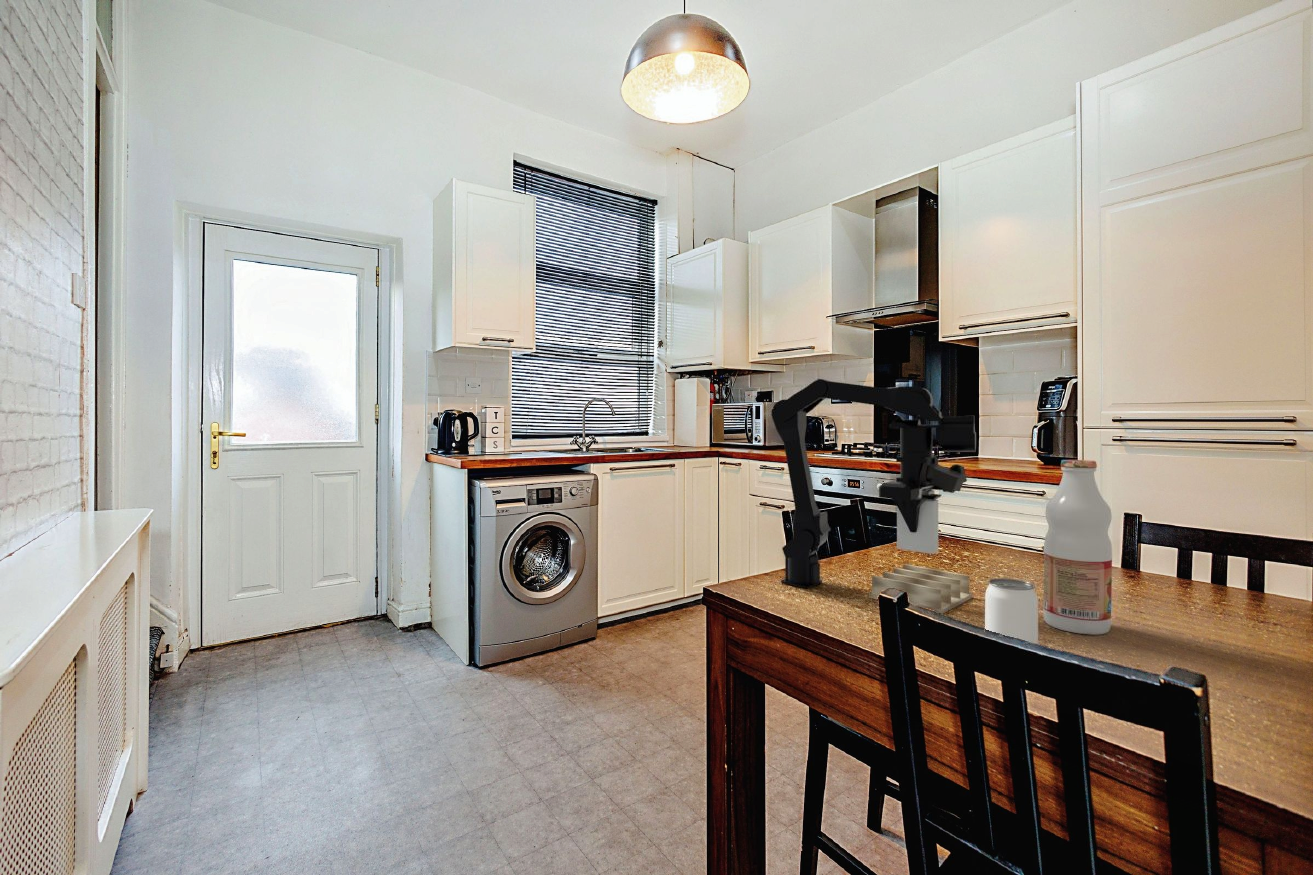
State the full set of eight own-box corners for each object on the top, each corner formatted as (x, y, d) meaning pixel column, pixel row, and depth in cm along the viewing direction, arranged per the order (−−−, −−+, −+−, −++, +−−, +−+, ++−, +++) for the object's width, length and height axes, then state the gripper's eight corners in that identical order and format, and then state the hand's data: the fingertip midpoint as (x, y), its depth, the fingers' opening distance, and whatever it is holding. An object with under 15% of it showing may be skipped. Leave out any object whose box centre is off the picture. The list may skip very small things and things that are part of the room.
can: (1045, 678, 82) (1046, 591, 81) (993, 674, 83) (994, 588, 83) (1026, 659, 88) (1027, 578, 88) (978, 656, 89) (979, 576, 89)
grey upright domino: (897, 548, 119) (896, 498, 119) (902, 546, 121) (902, 496, 120) (932, 553, 114) (932, 501, 113) (938, 551, 115) (938, 500, 115)
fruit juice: (1030, 617, 106) (1032, 458, 105) (1082, 615, 107) (1084, 458, 105) (1069, 636, 97) (1071, 463, 96) (1125, 635, 97) (1128, 462, 96)
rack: (868, 597, 118) (868, 575, 118) (902, 583, 128) (902, 563, 128) (941, 614, 108) (941, 590, 108) (972, 597, 118) (972, 575, 118)
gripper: (937, 455, 104) (937, 544, 105) (979, 450, 117) (979, 530, 117) (877, 453, 113) (877, 536, 113) (922, 448, 125) (922, 523, 126)
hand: (916, 531), depth 117 cm, fingers closed on grey upright domino, 2 cm apart
